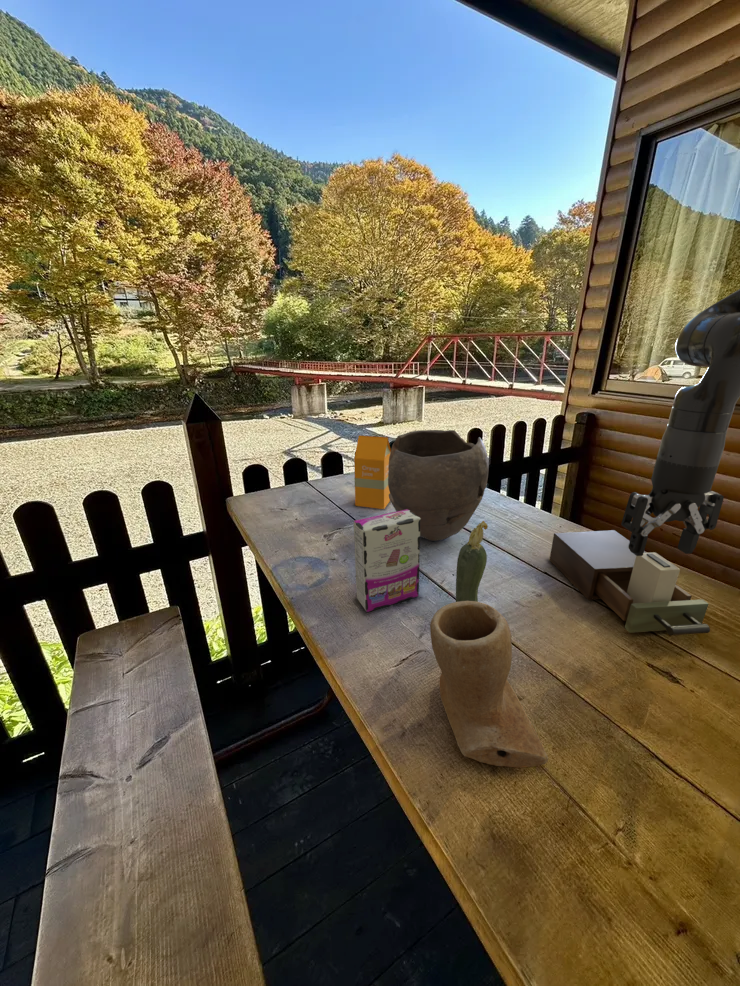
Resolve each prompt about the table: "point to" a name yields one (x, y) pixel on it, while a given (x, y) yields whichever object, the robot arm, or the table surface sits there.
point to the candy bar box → (387, 558)
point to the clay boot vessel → (482, 686)
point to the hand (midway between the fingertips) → (660, 552)
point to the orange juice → (372, 472)
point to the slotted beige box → (652, 579)
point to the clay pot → (437, 479)
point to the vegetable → (471, 566)
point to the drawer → (652, 607)
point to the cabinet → (590, 557)
